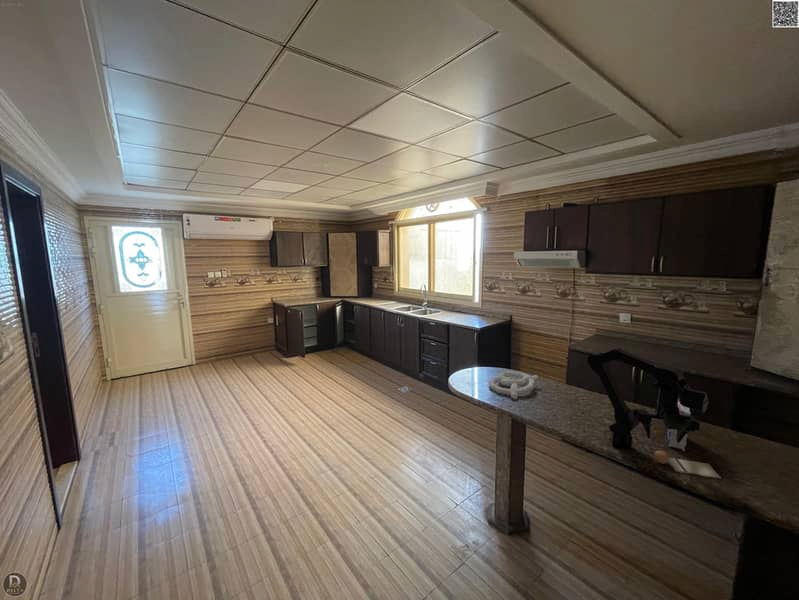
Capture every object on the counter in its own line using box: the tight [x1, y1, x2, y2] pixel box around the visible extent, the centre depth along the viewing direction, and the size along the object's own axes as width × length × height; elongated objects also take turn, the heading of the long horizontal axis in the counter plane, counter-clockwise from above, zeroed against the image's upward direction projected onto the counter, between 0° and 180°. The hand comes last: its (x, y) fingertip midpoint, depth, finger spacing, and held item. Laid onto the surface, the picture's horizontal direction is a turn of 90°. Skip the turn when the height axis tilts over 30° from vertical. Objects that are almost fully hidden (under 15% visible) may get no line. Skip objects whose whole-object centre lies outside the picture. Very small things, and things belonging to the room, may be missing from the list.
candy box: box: [667, 400, 692, 452], centre depth 136 cm, size 14×6×16 cm, turn 141°
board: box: [667, 457, 722, 480], centre depth 120 cm, size 13×8×1 cm, turn 71°
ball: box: [653, 450, 670, 465], centre depth 123 cm, size 4×4×4 cm
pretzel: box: [488, 370, 540, 400], centre depth 190 cm, size 28×24×6 cm
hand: (662, 440), depth 122 cm, fingers open, 9 cm apart
